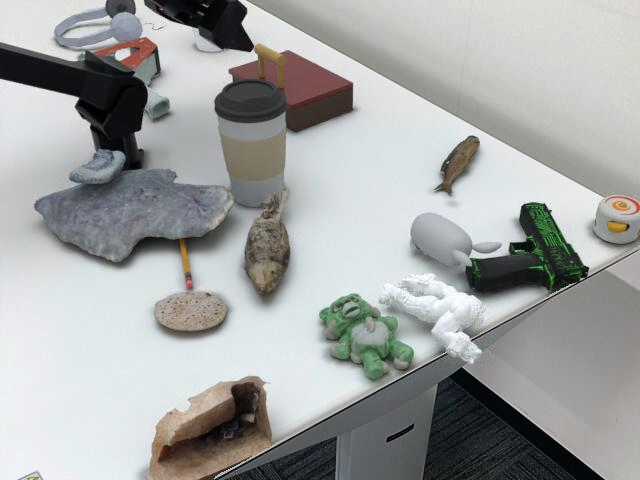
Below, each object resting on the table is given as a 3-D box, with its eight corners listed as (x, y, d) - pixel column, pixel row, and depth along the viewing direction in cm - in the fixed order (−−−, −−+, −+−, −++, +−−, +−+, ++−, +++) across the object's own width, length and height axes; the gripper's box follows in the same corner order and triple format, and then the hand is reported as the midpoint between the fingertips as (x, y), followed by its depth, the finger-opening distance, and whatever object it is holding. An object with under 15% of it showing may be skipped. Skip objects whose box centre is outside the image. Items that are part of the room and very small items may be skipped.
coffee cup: (218, 182, 105) (204, 77, 95) (280, 171, 107) (274, 67, 97) (234, 217, 99) (221, 108, 88) (300, 204, 101) (295, 96, 91)
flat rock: (248, 189, 102) (70, 174, 104) (244, 157, 98) (59, 142, 100) (216, 283, 91) (17, 264, 93) (209, 251, 87) (2, 232, 89)
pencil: (193, 287, 88) (192, 282, 87) (187, 288, 88) (186, 283, 87) (178, 201, 101) (177, 195, 100) (172, 201, 101) (171, 196, 100)
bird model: (227, 278, 82) (244, 313, 85) (279, 265, 81) (294, 300, 84) (239, 184, 98) (252, 216, 101) (282, 171, 97) (295, 204, 100)
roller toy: (659, 207, 93) (626, 185, 97) (619, 220, 91) (587, 198, 95) (649, 237, 96) (618, 215, 100) (610, 251, 94) (580, 227, 98)
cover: (291, 109, 113) (289, 71, 109) (228, 73, 122) (224, 37, 118) (353, 87, 119) (353, 50, 115) (288, 54, 128) (287, 18, 124)
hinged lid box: (295, 132, 116) (294, 108, 113) (234, 95, 125) (231, 72, 122) (353, 110, 121) (353, 87, 119) (289, 76, 130) (289, 54, 128)
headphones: (160, 9, 150) (60, 36, 147) (150, -21, 145) (47, 7, 143) (172, 42, 137) (63, 72, 135) (161, 10, 133) (49, 41, 131)
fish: (459, 141, 114) (459, 127, 112) (483, 143, 113) (483, 128, 111) (428, 203, 103) (427, 188, 101) (454, 205, 101) (454, 190, 100)
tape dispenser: (166, 131, 119) (196, 70, 132) (162, 100, 115) (193, 40, 128) (56, 119, 119) (97, 60, 133) (48, 88, 115) (91, 30, 129)
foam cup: (246, 50, 138) (239, -26, 129) (197, 58, 135) (187, -19, 126) (229, 32, 144) (221, -42, 135) (182, 39, 141) (171, -35, 133)
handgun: (477, 306, 86) (600, 292, 88) (481, 285, 84) (606, 272, 86) (437, 228, 97) (547, 218, 100) (440, 208, 95) (551, 198, 98)
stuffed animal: (367, 391, 76) (368, 361, 73) (301, 326, 83) (300, 297, 80) (427, 359, 80) (431, 329, 77) (359, 300, 87) (360, 271, 84)
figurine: (367, 341, 82) (475, 374, 79) (370, 306, 78) (483, 340, 75) (399, 283, 88) (499, 312, 85) (403, 248, 84) (507, 278, 82)
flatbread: (233, 300, 87) (233, 292, 87) (218, 338, 81) (217, 330, 81) (164, 292, 88) (163, 285, 87) (143, 330, 82) (142, 322, 81)
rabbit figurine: (394, 243, 93) (458, 288, 85) (407, 204, 91) (474, 246, 83) (430, 243, 97) (495, 286, 89) (443, 206, 95) (510, 246, 87)
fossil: (86, 171, 89) (55, 162, 91) (92, 198, 91) (62, 189, 93) (134, 145, 94) (103, 138, 96) (139, 171, 96) (109, 163, 98)
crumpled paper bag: (144, 478, 69) (134, 403, 65) (255, 434, 76) (251, 364, 72) (174, 506, 65) (165, 428, 61) (288, 457, 72) (285, 385, 68)
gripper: (227, -68, 90) (303, 7, 103) (148, -100, 100) (226, -28, 113) (179, 15, 92) (260, 79, 105) (106, -24, 102) (188, 38, 115)
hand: (233, 39), depth 109 cm, fingers open, 9 cm apart
